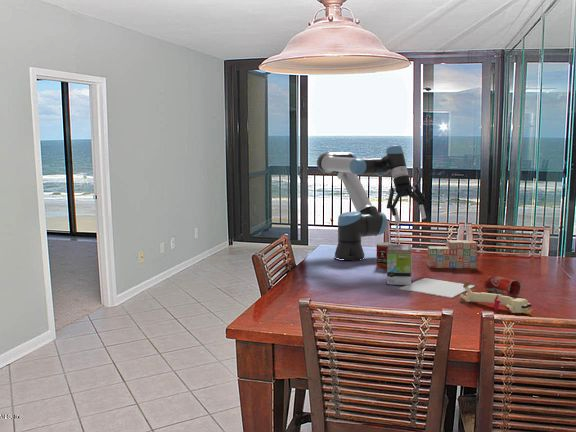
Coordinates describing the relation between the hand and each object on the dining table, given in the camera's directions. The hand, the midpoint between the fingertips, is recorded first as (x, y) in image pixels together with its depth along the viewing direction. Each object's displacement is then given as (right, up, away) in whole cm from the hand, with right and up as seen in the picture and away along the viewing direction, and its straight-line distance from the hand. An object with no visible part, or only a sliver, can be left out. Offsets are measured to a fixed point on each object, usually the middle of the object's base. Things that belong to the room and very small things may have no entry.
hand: (411, 220), depth 258 cm
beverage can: (+24, -28, -46) cm, 59 cm away
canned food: (-11, -22, +5) cm, 25 cm away
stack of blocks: (+20, -22, +3) cm, 30 cm away
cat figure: (+16, -30, -63) cm, 72 cm away
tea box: (-10, -25, -25) cm, 37 cm away
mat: (+3, -27, -36) cm, 45 cm away
